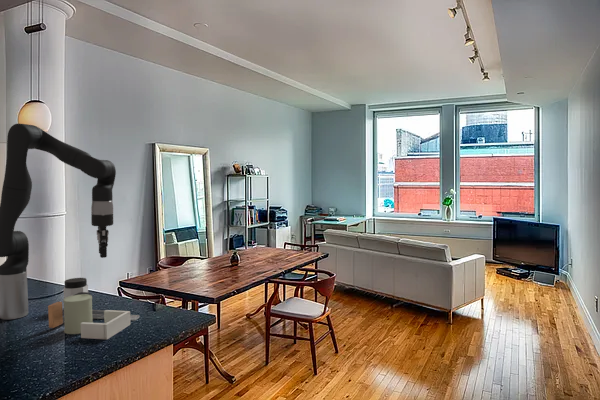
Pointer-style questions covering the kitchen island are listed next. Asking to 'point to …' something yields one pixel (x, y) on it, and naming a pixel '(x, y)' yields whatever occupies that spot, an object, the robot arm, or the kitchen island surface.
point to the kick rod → (57, 313)
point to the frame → (106, 325)
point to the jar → (75, 286)
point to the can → (77, 312)
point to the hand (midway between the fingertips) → (102, 255)
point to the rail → (98, 316)
